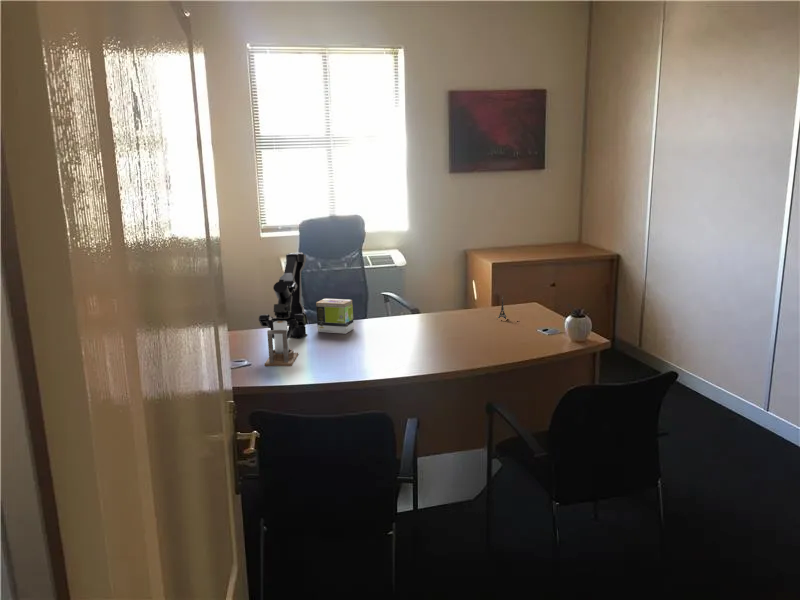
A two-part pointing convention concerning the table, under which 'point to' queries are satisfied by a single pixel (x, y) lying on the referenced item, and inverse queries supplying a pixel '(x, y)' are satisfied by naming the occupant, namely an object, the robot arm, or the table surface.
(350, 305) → the tea box
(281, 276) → the robot arm
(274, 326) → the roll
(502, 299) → the eiffel tower figurine
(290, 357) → the stand
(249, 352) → the table surface
